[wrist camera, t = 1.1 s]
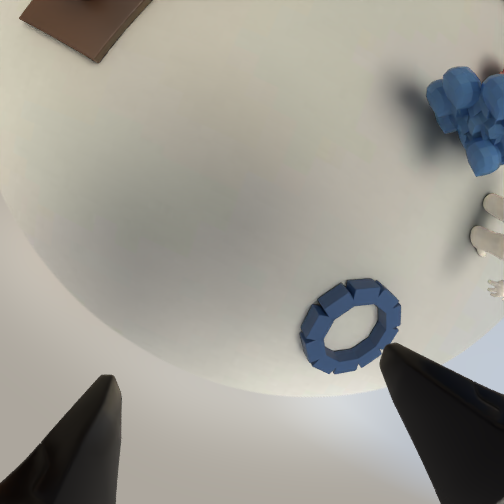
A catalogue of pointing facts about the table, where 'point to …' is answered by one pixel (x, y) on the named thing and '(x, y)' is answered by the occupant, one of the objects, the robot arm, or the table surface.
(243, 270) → the table surface
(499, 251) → the toy creature
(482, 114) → the grapes
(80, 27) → the post
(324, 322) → the ring
